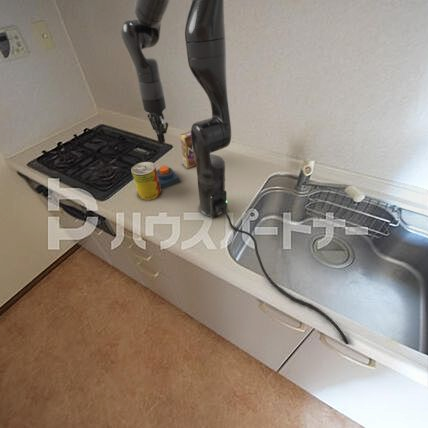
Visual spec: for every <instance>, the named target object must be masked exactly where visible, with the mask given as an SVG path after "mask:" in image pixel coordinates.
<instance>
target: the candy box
mask: <svg viewBox="0 0 428 428" xmlns="http://www.w3.org/2000/svg"><path fill="white" fill-rule="evenodd" d="M179 136H180V145H181V154H182V163H183V166H184V167H185V168H186V169H190V168H192V167H194V166H195V167H196V163H195V159H194V151H193V145H192V139H191V130H190V131H187V132H184V133H180V134H179Z"/></svg>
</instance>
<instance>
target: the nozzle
mask: <svg viewBox="0 0 428 428" xmlns="http://www.w3.org/2000/svg"><path fill="white" fill-rule="evenodd" d="M169 168H170V166H168V165H162V166H160V167H158V169H159V171H160V174H161V175H166V174H168V173H169Z"/></svg>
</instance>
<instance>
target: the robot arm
mask: <svg viewBox="0 0 428 428" xmlns="http://www.w3.org/2000/svg"><path fill="white" fill-rule="evenodd" d="M170 1H171V0H135V3H134V13H135V16H136V18H131V19H130V18H129V19H126V20H124V21H123V22H122V23H121V27H120V34H121V39H122V41H123V43H124V46H125V48H126V50H127V52H128V54H129V57H130V59H131V61H132V63H133V65H134V69H135V72H136V77H137V80H138V88H139V92H140V93H139V94H140V97H141V102H142V106H143V110H144V111H145V113H148V114H146V115H147V119H148V120H149V123H150V125H151V127H152V130H153V131H154V132H155V133H156V138H157V142H158V143H159V144H161V145H162V144H164V143H166V138H165V134H167V131H168V128H169V123H168V122H165V115H164V110H166V108H167V105H166V100H165V99H166V98H165V94H164V87H163V84H162V80H161V75H160V70H159V64H158V60H157V59H156V58H155V57H150V56H145V54H144V53H143V50H145V49H150V48H153V47H155V46H156V45H157V44H158V43H159V41H160V37H161V29H162V20H163V18H164V16H165V13H166V11H167V10H168V6H169V4H170ZM188 9H189V10H188V13H187V16H186V21H185V27H184V40H185V47H186V48H185V49H186V56H187V63H188V67H189V69H190V71H191V74H192V75H193V77H194V78H195V80H196V81H197V83H198V84H199V86H200V87H201V88H202V89H203V91H204V92H205V94H206V96H207V98H208V101H209V103H210V108H211V117H209V118H206V119H202V120H199V121H196V122H194V123H192V125H191V129H190V131H191V139H192V145H193V151H194V159H195V163H196V165H195V167H196V176H197V189H198V199H199V211H200V212H201V214H203V215H204V216H208V217H210V218H212V219H214V218H216V217H218V216H220V215H222V214H224V215H225V217H226V218H227V220H228V224H229V226H230V227H231V228H232V230H234V231H236V232H239V233H241V234H244V235H247V236H249V237H250V239H252V241H253V245H254V251H255V255H256V258H257V260H258V263H259V267H260V269H261V271H262V273H263V275H264V276H265V278H266V279H267V280H268V281H269V283H270V284H271V285H272V287H274V288H275V289H276V290H278V291H279V292H280V293H281V294H283V295H284V296H285V297H287V298H288V299H290V300H292V301H294V302H296V303H298V304H301V305H304V306H306V307H309V308H311V309H313V310H314V311H315V312H317V313H319V315H321V316H322V317H324V318H325V319H326V320H327V321H328V322H329V323H330V324H331V325H332V326H333V327H334V328H335V330H337V332H338V333H339V334H340V337H341V338H342V340H343V342H344V344H345V345H349V341H348V339H347V337H346V335H345V333H344V332H343V330H342V329H341V328H340V327H339V326H338V324H337V323H336V322H335V321H334V320H333V319H332V318H331V317H329V316H328V315H327V314H326V313H325V312H324V311H322V310H321V309H319V308H318V307H317V306H315V305H313V304H311V303H309V302H307V301H305V300H301V299H300V298H296V297H294V296H292V295H291V294H289V293H288V292H286V291H285V290H284V289H282V287H279V286H278V285H277V284H276V283H275V282H274V280H273V279H272V278H271V277H270V276H269V275H268V272H267V271H266V270H265V266H264V265H263V262H262V260H261V256H260V253H259V250H258V244H257V241H256V238H255V237H254V235H252V234H251V233H250V232H248V231H245V230H242V229H239V228H236V227H235V226H234V225H233V223H232V219H231V217H230V216H229V215H228V213H227V210H228V200H227V190H226V162H225V159H224V158H223V157H222V156H220V155H216V154H213V153H215V152H218V151H221V150H223V149H226V148H227V147H229V146H230V144H231V141H232V123H231V115H230V108H229V99H228V83H227V81H228V80H227V50H226V49H227V48H226V47H227V45H226V43H227V42H226V28H225V26H226V25H225V0H191V2H190V6H189V8H188ZM211 153H212V154H211Z"/></svg>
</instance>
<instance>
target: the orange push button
mask: <svg viewBox="0 0 428 428" xmlns="http://www.w3.org/2000/svg"><path fill="white" fill-rule="evenodd" d="M156 171H157V175H158V179H159V183H160V188H161V189H165V188H167V187H170V186H172V185H174V184H177V183H180V177H179V176H178V174H176V173H175V172H174V170H173V169H172V167H169V173H168V174H166V175H161V174H160V171H159V168H158V169H156Z"/></svg>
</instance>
